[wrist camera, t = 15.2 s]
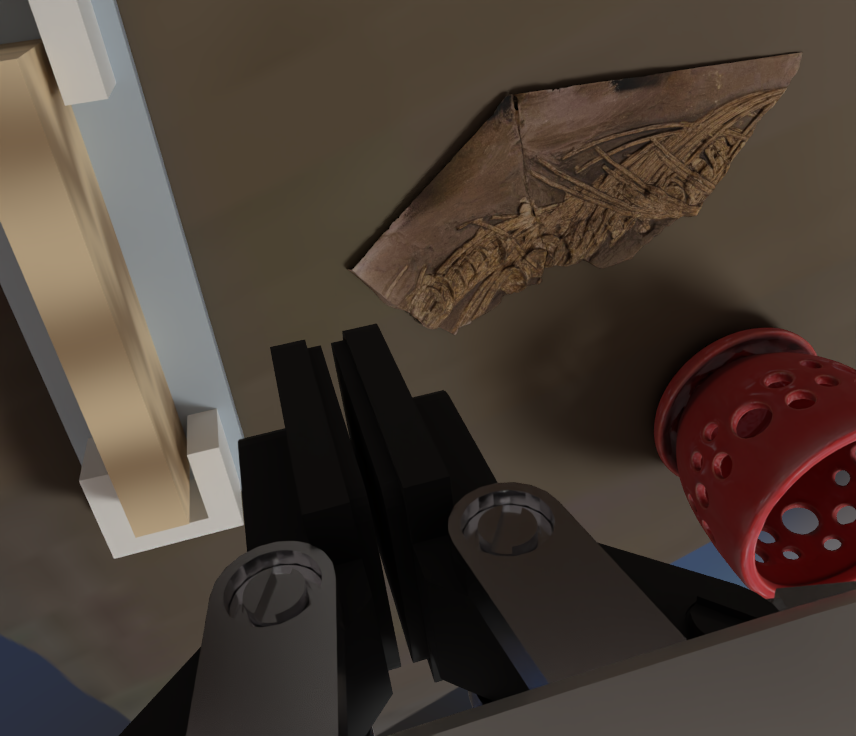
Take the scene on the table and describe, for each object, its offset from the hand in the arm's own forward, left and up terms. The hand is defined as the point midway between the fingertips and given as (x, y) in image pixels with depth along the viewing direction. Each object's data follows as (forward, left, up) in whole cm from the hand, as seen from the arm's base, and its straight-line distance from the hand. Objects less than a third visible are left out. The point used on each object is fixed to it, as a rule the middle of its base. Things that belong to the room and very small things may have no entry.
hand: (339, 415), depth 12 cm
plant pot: (+23, +26, -25) cm, 43 cm away
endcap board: (+6, -8, -25) cm, 27 cm away
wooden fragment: (+6, +16, -26) cm, 31 cm away
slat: (+6, -8, -24) cm, 26 cm away
